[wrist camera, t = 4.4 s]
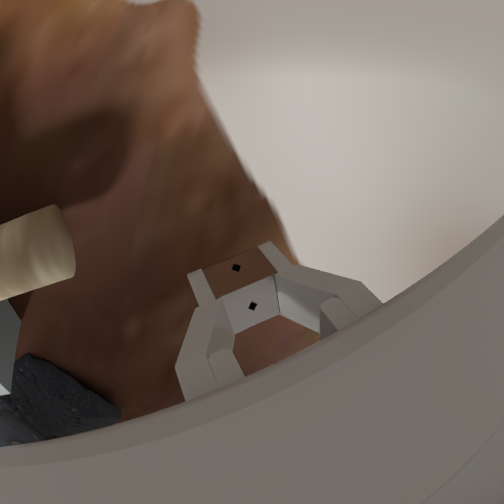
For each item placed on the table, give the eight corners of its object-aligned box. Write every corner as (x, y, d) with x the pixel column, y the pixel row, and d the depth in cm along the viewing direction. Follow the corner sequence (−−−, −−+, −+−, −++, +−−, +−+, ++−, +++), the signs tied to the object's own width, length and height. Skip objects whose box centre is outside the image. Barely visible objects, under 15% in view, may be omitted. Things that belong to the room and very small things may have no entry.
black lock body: (139, 402, 29) (148, 437, 25) (47, 449, 28) (50, 476, 24) (28, 339, 19) (23, 383, 15) (-38, 408, 18) (-40, 438, 14)
